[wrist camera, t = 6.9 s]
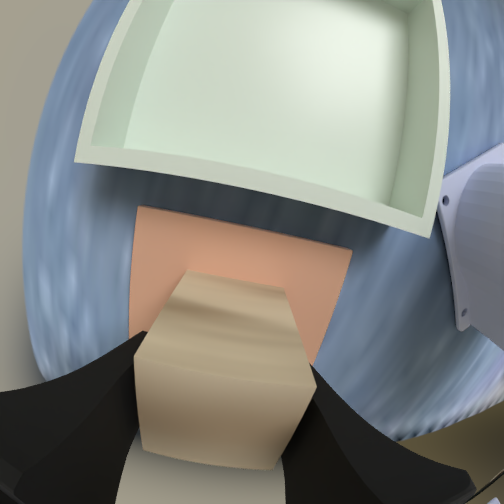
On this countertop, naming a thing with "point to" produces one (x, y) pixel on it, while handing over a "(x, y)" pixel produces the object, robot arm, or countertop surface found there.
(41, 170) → the countertop surface
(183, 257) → the terracotta tile
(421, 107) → the pale green bin
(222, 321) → the birch block
